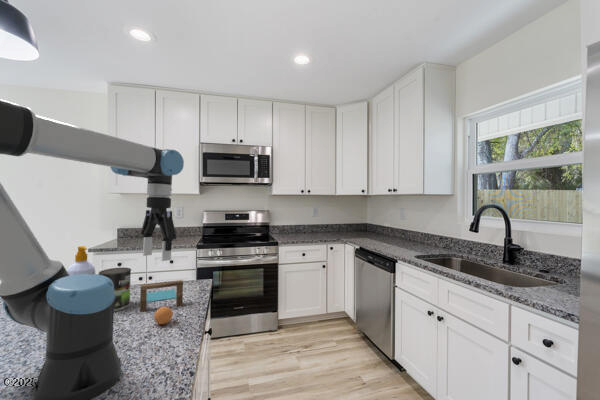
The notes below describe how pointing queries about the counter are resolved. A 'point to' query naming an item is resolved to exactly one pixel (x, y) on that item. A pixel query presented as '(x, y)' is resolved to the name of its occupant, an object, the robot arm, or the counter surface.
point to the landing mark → (161, 295)
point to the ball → (163, 315)
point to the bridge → (160, 285)
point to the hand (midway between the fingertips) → (156, 257)
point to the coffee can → (119, 286)
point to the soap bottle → (81, 263)
